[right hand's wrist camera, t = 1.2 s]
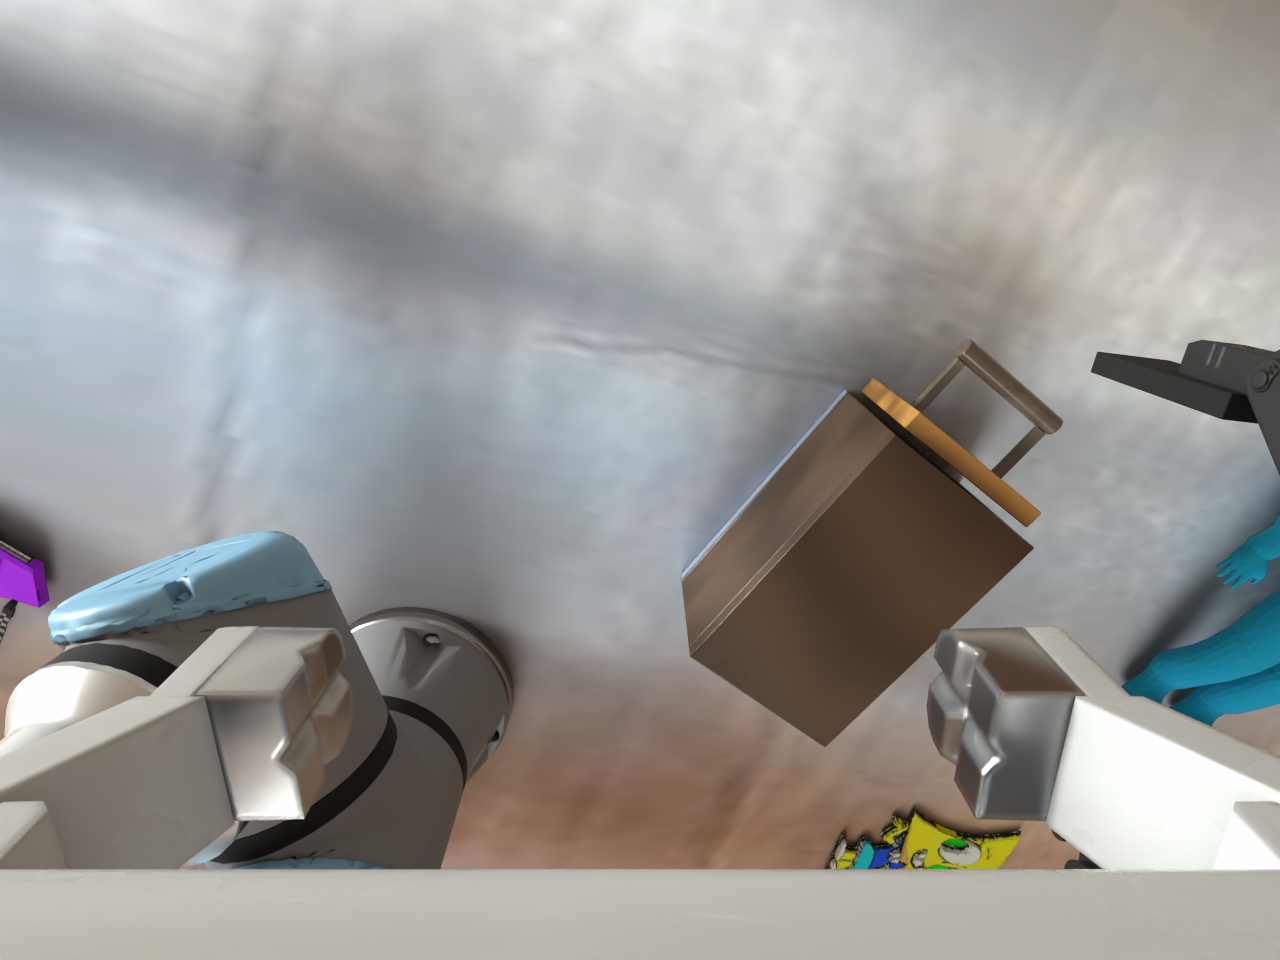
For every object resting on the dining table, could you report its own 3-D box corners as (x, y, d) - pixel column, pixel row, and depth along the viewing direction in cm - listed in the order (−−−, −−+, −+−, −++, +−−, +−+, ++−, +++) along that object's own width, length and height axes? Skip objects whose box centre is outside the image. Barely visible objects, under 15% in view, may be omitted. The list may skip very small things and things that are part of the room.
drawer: (927, 316, 49) (986, 339, 41) (1033, 408, 51) (1110, 447, 43) (714, 555, 55) (727, 618, 47) (816, 629, 57) (847, 701, 49)
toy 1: (862, 802, 63) (1025, 838, 64) (859, 794, 64) (1021, 830, 65) (820, 889, 66) (977, 922, 68) (818, 881, 67) (973, 913, 69)
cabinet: (844, 389, 52) (895, 434, 42) (959, 483, 54) (1034, 548, 44) (680, 575, 57) (689, 656, 47) (792, 653, 59) (825, 748, 49)
